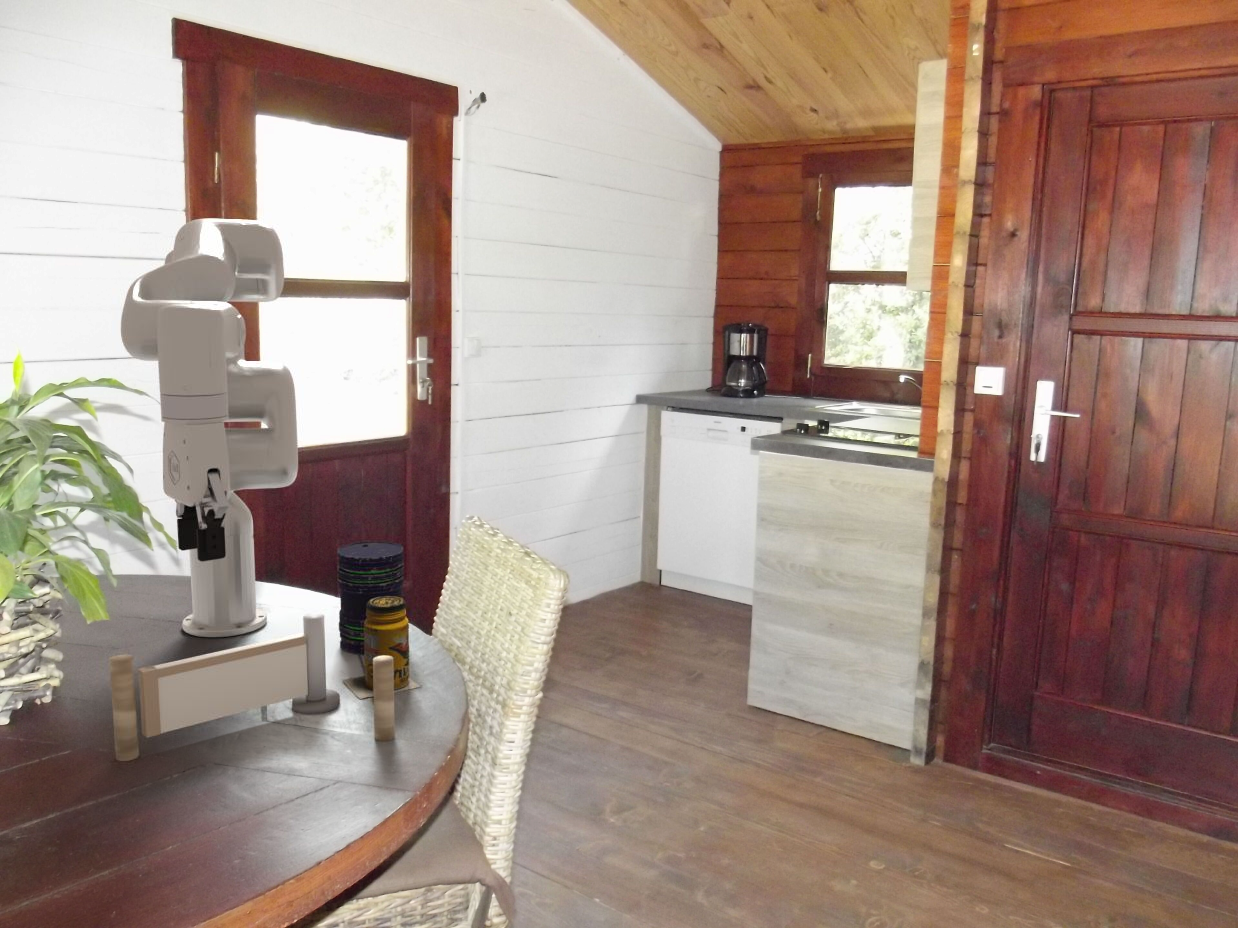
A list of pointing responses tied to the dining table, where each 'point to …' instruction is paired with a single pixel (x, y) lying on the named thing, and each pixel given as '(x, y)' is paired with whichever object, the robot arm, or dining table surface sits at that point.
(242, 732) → the dining table surface
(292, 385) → the robot arm
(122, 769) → the dining table surface
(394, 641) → the condiment
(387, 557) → the storage jar
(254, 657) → the gate
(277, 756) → the dining table surface
